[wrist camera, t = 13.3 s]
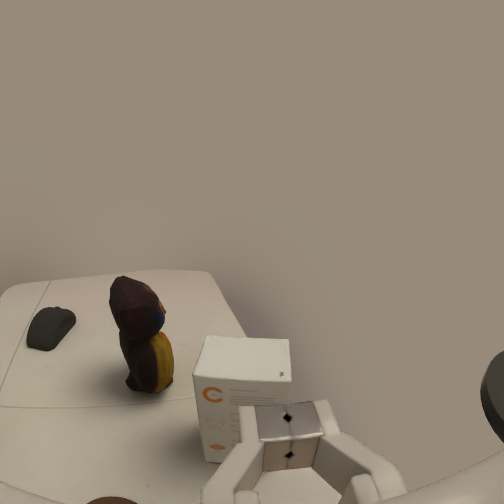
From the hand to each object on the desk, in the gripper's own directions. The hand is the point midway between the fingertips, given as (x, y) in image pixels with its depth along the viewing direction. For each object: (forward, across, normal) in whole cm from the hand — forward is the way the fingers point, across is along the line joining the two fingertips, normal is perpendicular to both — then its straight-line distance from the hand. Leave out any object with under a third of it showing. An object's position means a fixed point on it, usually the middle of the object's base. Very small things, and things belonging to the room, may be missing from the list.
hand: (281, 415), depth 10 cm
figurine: (+26, +12, +22) cm, 36 cm away
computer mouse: (+37, +34, +22) cm, 54 cm away
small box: (+15, 0, +22) cm, 27 cm away
